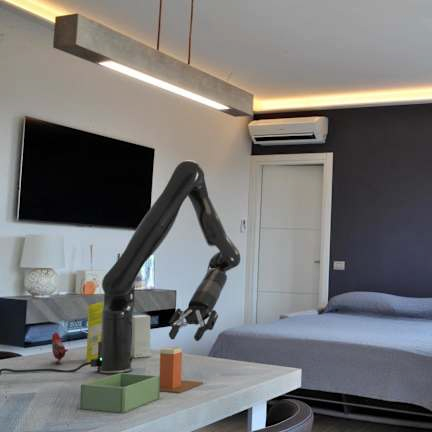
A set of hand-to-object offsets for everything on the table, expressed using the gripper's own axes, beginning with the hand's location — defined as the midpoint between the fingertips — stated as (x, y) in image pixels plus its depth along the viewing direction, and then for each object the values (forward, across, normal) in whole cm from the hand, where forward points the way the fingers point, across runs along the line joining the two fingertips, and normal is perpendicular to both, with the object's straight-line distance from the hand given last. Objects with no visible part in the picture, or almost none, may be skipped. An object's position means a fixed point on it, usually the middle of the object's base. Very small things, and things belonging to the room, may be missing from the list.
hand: (183, 338), depth 178 cm
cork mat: (+12, 0, -6) cm, 14 cm away
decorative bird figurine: (+2, +55, -17) cm, 58 cm away
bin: (+26, +2, +8) cm, 28 cm away
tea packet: (+14, 0, -5) cm, 14 cm away
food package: (-6, +50, -25) cm, 56 cm away
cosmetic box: (-14, +40, -33) cm, 53 cm away
